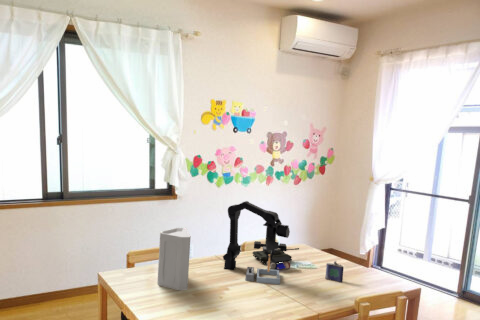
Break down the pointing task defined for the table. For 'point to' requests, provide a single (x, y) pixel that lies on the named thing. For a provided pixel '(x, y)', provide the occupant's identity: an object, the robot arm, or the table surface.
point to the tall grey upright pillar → (174, 258)
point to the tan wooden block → (268, 262)
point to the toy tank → (263, 256)
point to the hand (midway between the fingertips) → (269, 260)
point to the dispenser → (250, 274)
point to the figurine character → (282, 265)
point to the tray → (268, 280)
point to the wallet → (334, 272)
